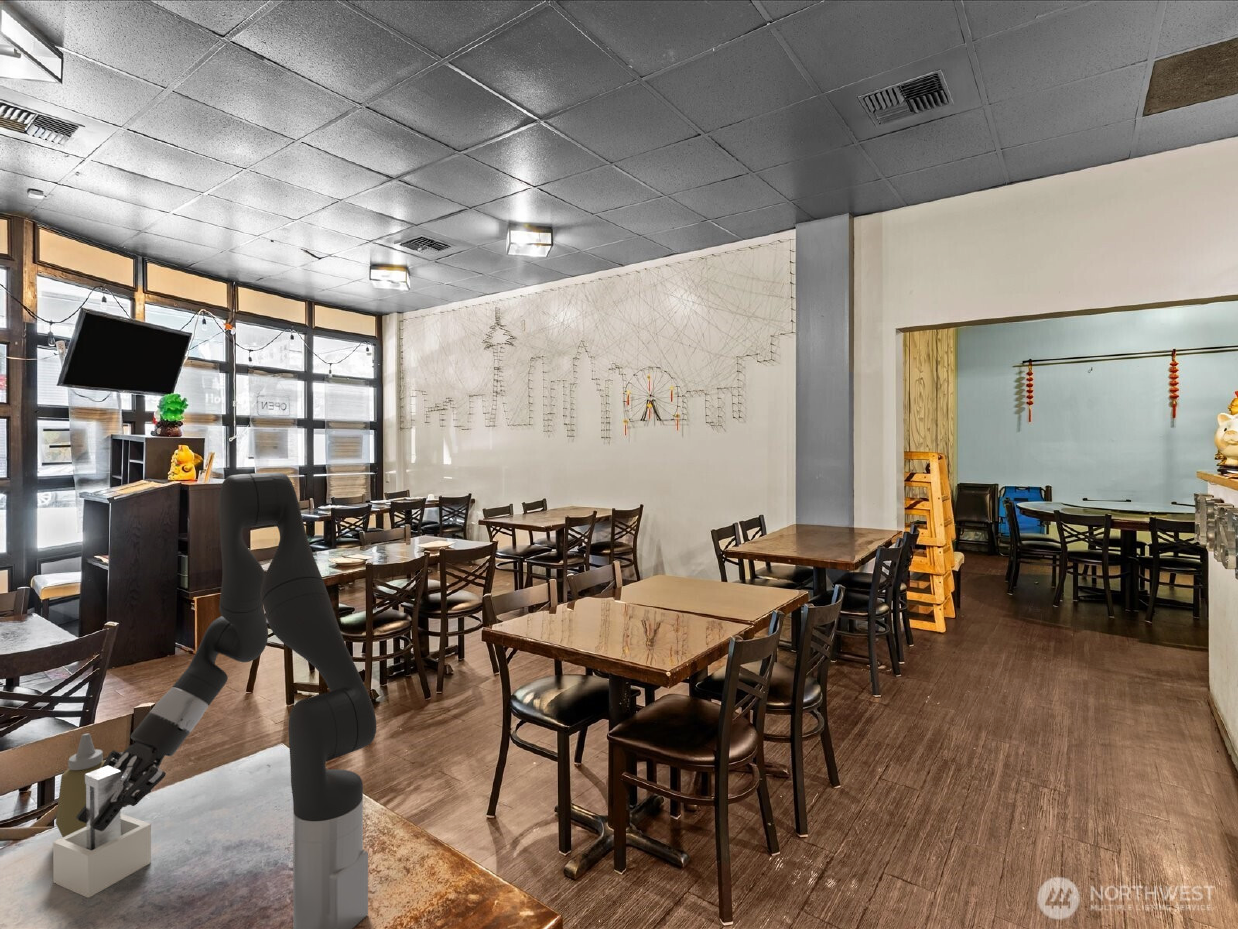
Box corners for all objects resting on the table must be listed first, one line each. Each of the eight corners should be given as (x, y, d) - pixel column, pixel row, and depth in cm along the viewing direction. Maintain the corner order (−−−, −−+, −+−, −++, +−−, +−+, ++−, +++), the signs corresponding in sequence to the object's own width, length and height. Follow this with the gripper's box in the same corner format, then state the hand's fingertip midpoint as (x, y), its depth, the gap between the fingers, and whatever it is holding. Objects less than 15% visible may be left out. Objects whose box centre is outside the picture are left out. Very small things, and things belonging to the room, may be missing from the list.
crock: (150, 862, 104) (150, 824, 104) (88, 898, 96) (88, 856, 96) (116, 849, 108) (116, 812, 108) (53, 882, 99) (53, 842, 99)
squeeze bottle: (115, 816, 117) (114, 721, 117) (115, 837, 111) (115, 736, 111) (57, 833, 112) (56, 733, 112) (54, 855, 106) (53, 749, 106)
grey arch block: (122, 856, 102) (121, 771, 102) (98, 867, 99) (97, 780, 99) (109, 848, 104) (108, 765, 104) (85, 860, 101) (84, 774, 101)
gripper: (132, 703, 111) (46, 805, 101) (178, 719, 105) (91, 830, 94) (165, 722, 116) (86, 821, 105) (211, 738, 110) (132, 845, 99)
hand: (89, 824), depth 100 cm, fingers open, 4 cm apart
